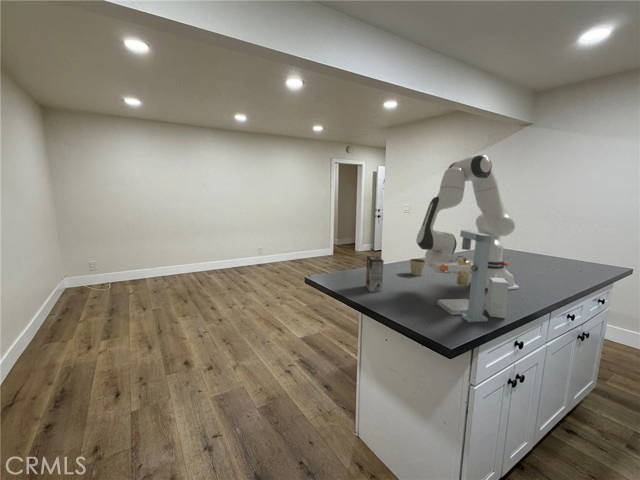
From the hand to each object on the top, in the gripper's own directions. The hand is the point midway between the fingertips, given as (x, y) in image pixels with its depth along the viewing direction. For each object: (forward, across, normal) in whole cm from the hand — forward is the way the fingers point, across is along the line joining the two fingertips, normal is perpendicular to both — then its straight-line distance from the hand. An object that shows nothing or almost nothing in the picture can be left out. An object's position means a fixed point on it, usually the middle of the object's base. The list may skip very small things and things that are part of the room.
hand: (464, 271), depth 125 cm
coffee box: (-29, -30, +17) cm, 45 cm away
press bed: (-1, 0, +17) cm, 17 cm away
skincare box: (+5, +12, +17) cm, 21 cm away
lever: (+9, -9, -3) cm, 13 cm away
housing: (-1, 0, +6) cm, 6 cm away
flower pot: (-53, +4, +17) cm, 56 cm away
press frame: (+4, 0, +17) cm, 17 cm away
